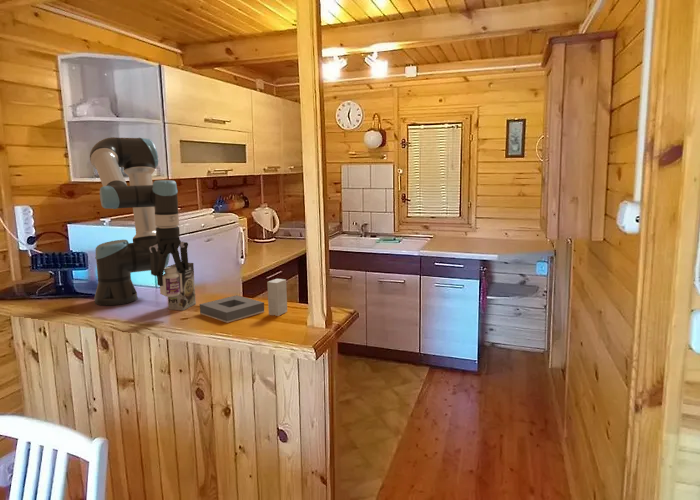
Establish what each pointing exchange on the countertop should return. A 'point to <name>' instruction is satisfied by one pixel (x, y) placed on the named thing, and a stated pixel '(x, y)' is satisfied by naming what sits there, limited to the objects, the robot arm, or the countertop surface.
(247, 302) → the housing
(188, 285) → the coffee box
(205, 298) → the countertop surface
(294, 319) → the countertop surface
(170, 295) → the pill bottle
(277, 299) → the skincare box
